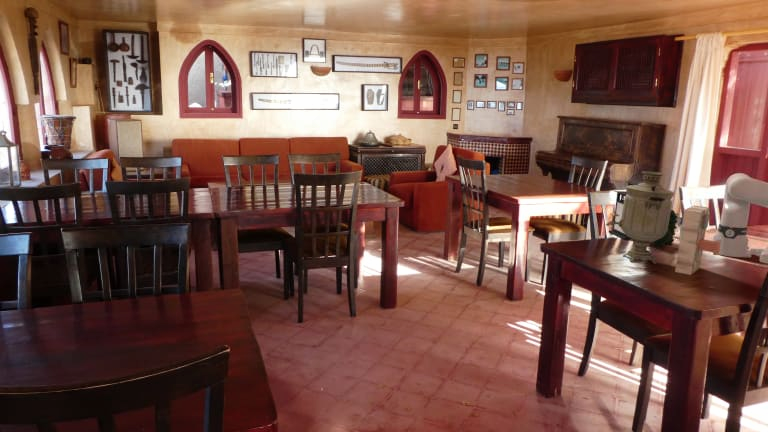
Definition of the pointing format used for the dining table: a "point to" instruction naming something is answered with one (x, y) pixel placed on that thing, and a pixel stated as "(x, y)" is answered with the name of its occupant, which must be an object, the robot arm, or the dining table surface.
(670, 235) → the toy figurine
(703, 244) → the terracotta plug
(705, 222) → the charcoal plug
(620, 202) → the lantern
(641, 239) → the samovar
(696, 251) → the block
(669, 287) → the dining table surface
